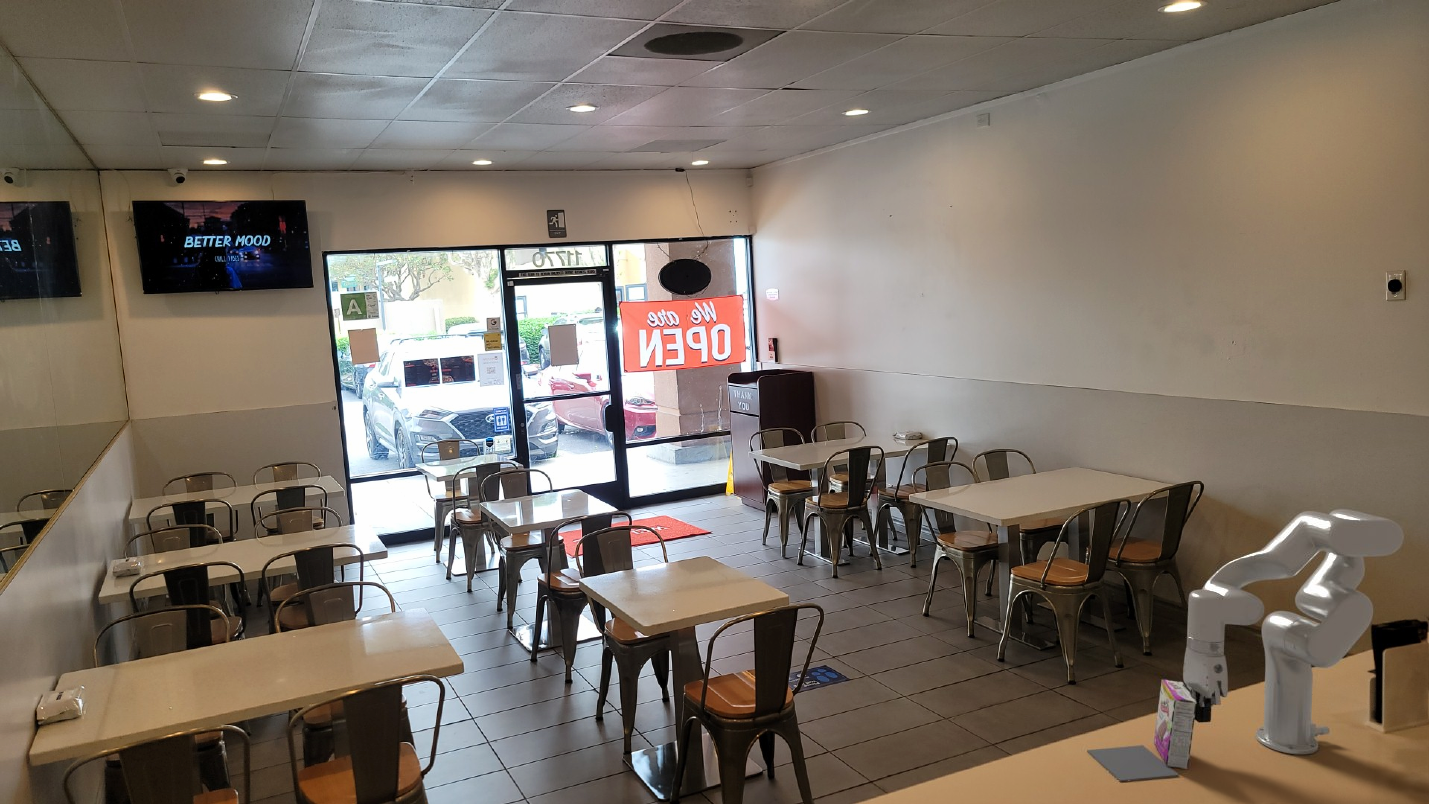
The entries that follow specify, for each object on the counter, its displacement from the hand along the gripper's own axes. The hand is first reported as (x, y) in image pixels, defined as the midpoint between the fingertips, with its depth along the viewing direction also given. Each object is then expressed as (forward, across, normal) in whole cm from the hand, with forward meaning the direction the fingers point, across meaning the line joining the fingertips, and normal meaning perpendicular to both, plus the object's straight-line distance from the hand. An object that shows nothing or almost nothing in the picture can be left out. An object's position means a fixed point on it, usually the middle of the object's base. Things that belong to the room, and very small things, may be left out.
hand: (1202, 720), depth 212 cm
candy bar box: (+8, 0, +8) cm, 12 cm away
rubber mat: (+9, -1, +18) cm, 20 cm away
